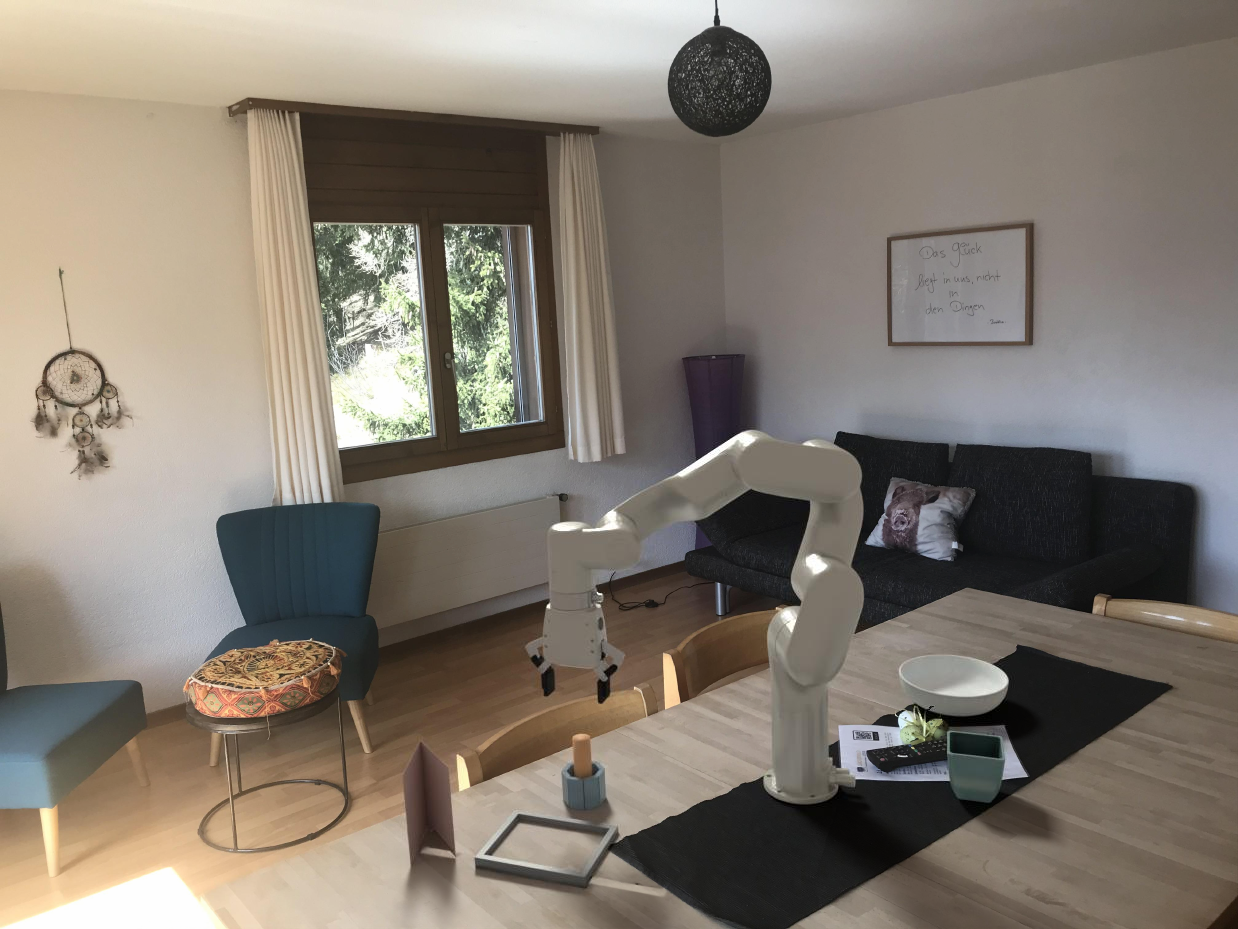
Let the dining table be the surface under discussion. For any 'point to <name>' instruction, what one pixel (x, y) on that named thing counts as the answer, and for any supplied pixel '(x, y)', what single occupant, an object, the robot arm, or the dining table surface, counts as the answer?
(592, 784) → the cup
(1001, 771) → the flower pot
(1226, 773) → the dining table surface
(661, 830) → the dining table surface
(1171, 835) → the dining table surface
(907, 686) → the serving bowl
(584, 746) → the dowel
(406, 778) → the greeting card
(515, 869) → the grey rectangular frame
